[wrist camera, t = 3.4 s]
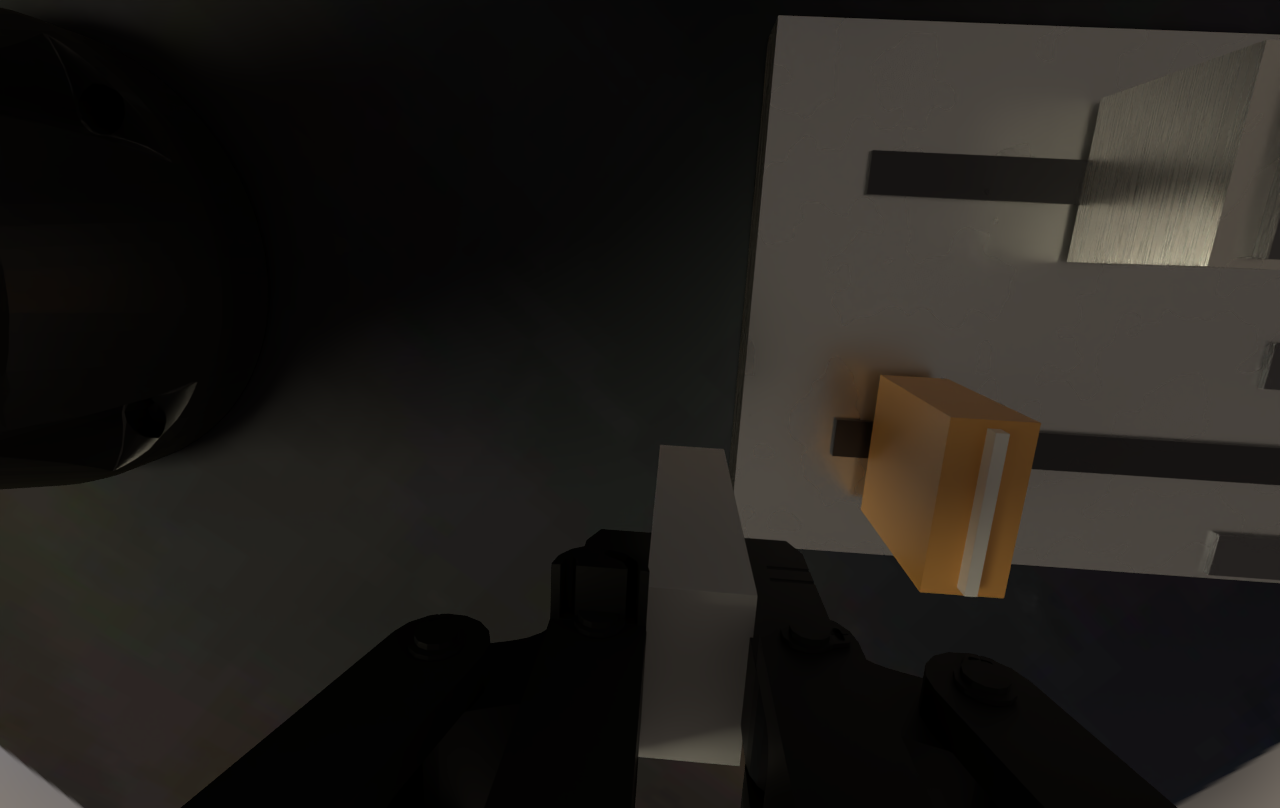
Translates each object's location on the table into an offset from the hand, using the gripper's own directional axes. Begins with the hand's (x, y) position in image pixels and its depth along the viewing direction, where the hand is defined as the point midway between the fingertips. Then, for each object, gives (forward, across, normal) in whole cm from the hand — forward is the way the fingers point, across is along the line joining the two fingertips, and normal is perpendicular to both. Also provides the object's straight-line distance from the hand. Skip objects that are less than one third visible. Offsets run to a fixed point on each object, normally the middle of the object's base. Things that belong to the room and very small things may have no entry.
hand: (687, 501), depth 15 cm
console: (+8, +14, +4) cm, 16 cm away
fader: (+5, +7, 0) cm, 8 cm away
